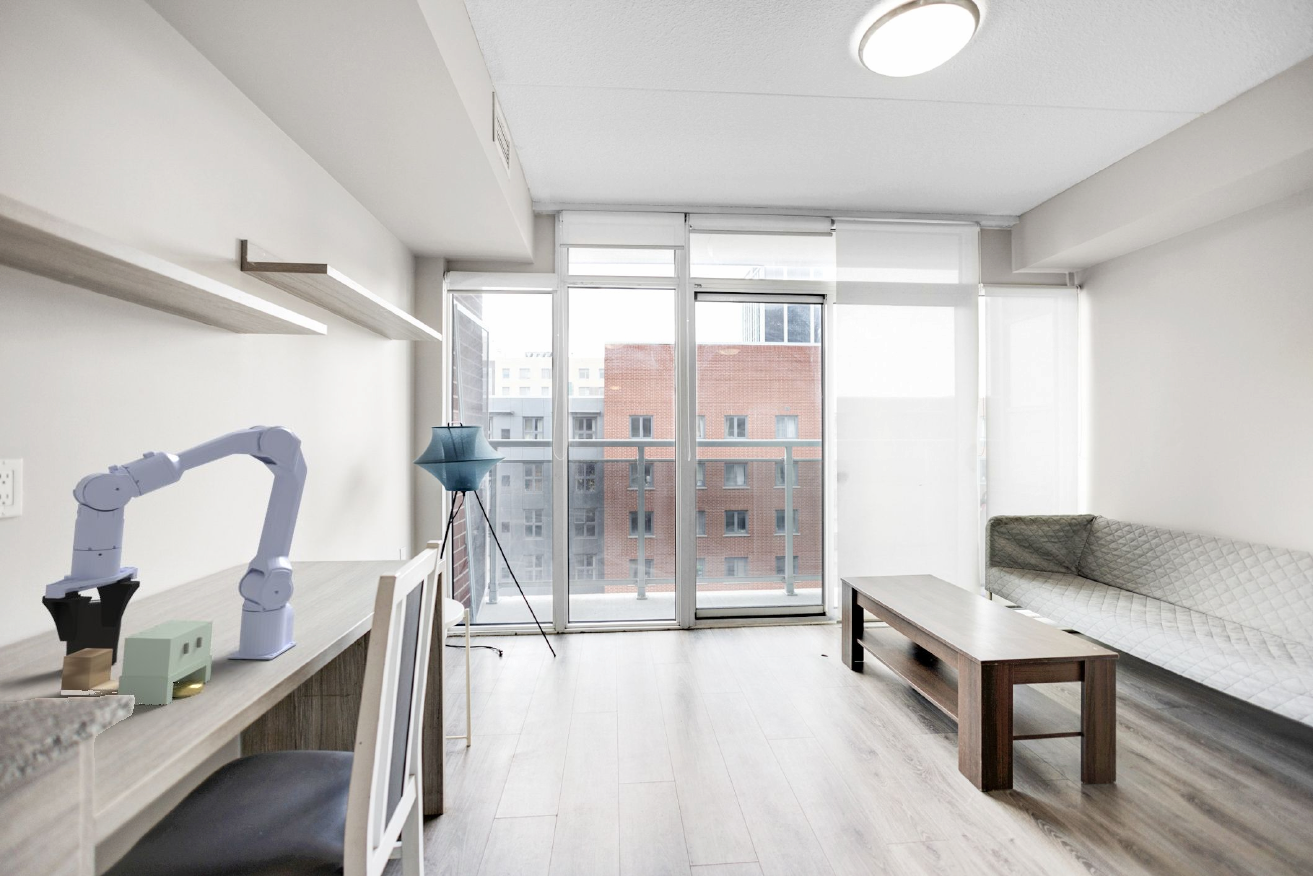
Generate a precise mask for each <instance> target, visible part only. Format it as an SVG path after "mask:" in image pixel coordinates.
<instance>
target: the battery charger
mask: <svg viewBox="0 0 1313 876" xmlns="http://www.w3.org/2000/svg"><path fill="white" fill-rule="evenodd" d="M122 620H123V618H122V619H121V621H120V623H119V626H117V627H102V623H101V601H100V598H99V599H91V601H90V602H89V604H88V606H87V608H86V611H85V613H84V616H83V620H82V626H81V631H80V635H79V638H78V640H77V641H73V642H68V641H65V656H67V655H70V654H73V653H75V652H78V651H81V650H83V649H86V648H94V649H113V653H112V665H114V664H116V663H117V662H118V658H119V657H118V656H119V655H118V653H119V644H120V637H121V631H122V623H123V622H122Z"/></svg>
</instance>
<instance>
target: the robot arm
mask: <svg viewBox="0 0 1313 876" xmlns="http://www.w3.org/2000/svg"><path fill="white" fill-rule="evenodd" d="M301 445H302V440H301V439H300V438H299V437H298V436H297V435H296V434H295V433H294V432H293V431H292V430H291V429H290V428H289V427H286V426H283V425H275V426H274V425H273V426H270V425H269V426H266V425H253V426H251V427H249V428H244V429H238V430H235V431H231V432H229V433H226V434H223V435H221V436H217V437H215V438H213V439H211V440H209V441H205V442H203V443H201V444H198V445H196V446H193V447H191V448H188V449H186V450H183V451H181V452H178V453H175V454H171V453H168V452H165V451H159V452H155V451H147V452H145V453H144V452H143V453H142V458H138V459H136V460H133V461H130V462H127V463H125V464H121V465H117V464H113V465H109V466H108V467H107V469H108V472H96V473H91V474H87V475H86V476H84V477H83V478H81V479H80V481H78V482H77V483H76V485H75V489H73V490H72V496H73V498H74V499H75V501H76V502H77V503H78V505H77V510H76V516H77V517H76V519H75V522H74V531H73V532H74V533H73V534H74V535H73V544H72V556H71V557H72V558H71V570H70V573H69V574H67V575H66V574H65V575H64V578H63V579H61V580H58V581H56V582H53V583H50V584H49V583H48V584H46V585H45V595H43V596H42V598H41V603H42V605H43V606H44V607H45V608H46V609H47V610H48V612H49V614H50V616H51V618H52V619H53V622H54V625H55V628H56V631H57V635H58V639H59V642H66V641H68V642H73V641H77V640H78V638H79V635H80V631H81V626H82V620H83V616H84V613H85V611H86V608H87V606H88V604H89V602H90V601H91V600H93V596H86V595H83V596H82V594H81V593H80V592H83V591H84V592H85V591H87V590H92V589H96V591H97V593H98V595H99V596H98V597H99V599H100V601H101V623H102V627H117V626H119V623H120V621H121V619H122V620H123V615H124V613H125V611H126V608H127V606H128V605H129V602H130V600H131V599H132V597H133V595H135V593H136V592H137V590H138V589H139V588H140V585H141V581H140V580H136V579H137V578H138V569H139V567H138V566H123V567H121V563H122V561H121V560H122V549H123V538H124V537H123V536H124V528H125V527H124V524H125V518H124V515H125V506H127V505H128V504H129V502H130V501H131V499H132V498H135V499H136V498H139V497H141V496H144V495H146V494H147V495H148V494H149V493H152V492H155V491H157V490H160V489H162V488H165V487H167V486H170V485H172V484H174V483H177V482H179V481H180V480H181V477H182V476H183V475H184V473H185V471H188V470H189V471H190V470H192V469H194V468H197V467H200V466H203V465H205V464H209V463H211V462H215V461H217V460H219V459H220V460H221V459H223V458H226V457H229V456H231V455H235V454H236V455H249V456H250V457H253V458H254V459H255V460H256V459H257V460H258V461H259V462H261V463H263V464H264V465H265V466H266V467H267V468H268V470H269V471H270V472H271V474H273V475H274V478H273V483H272V486H271V492H270V496H269V500H268V505H267V509H266V513H265V517H264V521H263V526H262V531H261V535H260V539H259V543H258V548H257V552H256V555H255V556H254V557H253V558H252V559H251V561H250V562H249V563H248V566H247V570H246V572H245V573H244V575H243V576H242V577H241V579H240V580H239V582H238V588H237V590H238V593H239V595H240V596H241V597H242V598H243V599H244V601H243V604H242V606H241V619H240V629H239V630H240V631H239V642H238V643H239V645H238V650H236V651H234V652H232V653H230V654H229V655H227V659H232V660H233V659H238V660H243V659H244V660H272V659H274V658H276V657H278V656H279V655H281V654H282V653H284V652H285V651H287V650H289V649H291V648H293V647H294V646H295V645H297V644H298V643H297V641H293V634H294V632H293V631H294V619H295V611H294V608H293V607H292V605H291V604H290V603H288V602H289V601H290V599H291V598H292V597H293V594H294V591H295V590H294V582H293V579H292V574H293V571H294V570H293V567H292V565H291V564H292V563H291V561H290V559H289V557H290V550H291V547H292V546H291V545H292V541H293V539H294V532H295V528H296V525H297V521H298V520H297V519H298V516H299V510H300V506H301V502H302V497H303V492H304V489H305V488H304V487H305V484H306V480H307V474H308V466H307V462H306V461H305V457H304V454H303V452H302V448H301Z"/></svg>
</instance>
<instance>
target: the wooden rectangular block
mask: <svg viewBox="0 0 1313 876" xmlns="http://www.w3.org/2000/svg"><path fill="white" fill-rule="evenodd" d="M112 653H113V649H94V648H86V649H83V650H81V651H78V652H75V653H73V654H70V655H67V656H66V655H65V656H63V662H62V672H61V673H62V674H61V685H60V691H61V690H82V691H88V690H93V691H100V692H95V693H96V694H95V693H94V695H68V696H69V697H73V696H74V697H89V696H90V697H92V696H93V697H94V696H95V697H98V696H99V697H100V696H101V695H118V686H119V680H118V679H117V680H113V679H111V678H112V677H111V675H112V674H111V673H112V666H113V664H112ZM112 692H117V693H112ZM101 693H102V694H101ZM68 696H67V697H68ZM101 697H102V696H101Z"/></svg>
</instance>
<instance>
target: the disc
mask: <svg viewBox="0 0 1313 876" xmlns="http://www.w3.org/2000/svg"><path fill="white" fill-rule="evenodd" d="M204 684H205V683H204V682H203V681H200V680H189V681H183V682H179V683H173V694H172V697H184V698H189V697H192V696H191V695H193V696H196V695H199V694H201V693H202V692H203V691H202V690H204ZM201 691H202V692H201ZM200 692H201V693H200ZM198 693H199V694H198ZM195 694H196V695H195ZM188 696H189V697H188Z"/></svg>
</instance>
